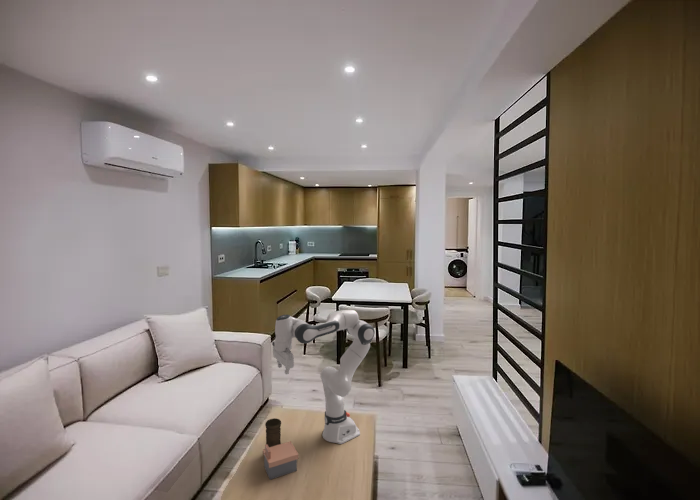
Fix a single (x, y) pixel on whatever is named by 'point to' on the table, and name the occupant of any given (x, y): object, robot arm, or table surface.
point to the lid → (280, 454)
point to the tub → (280, 468)
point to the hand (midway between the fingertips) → (283, 370)
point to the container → (273, 432)
